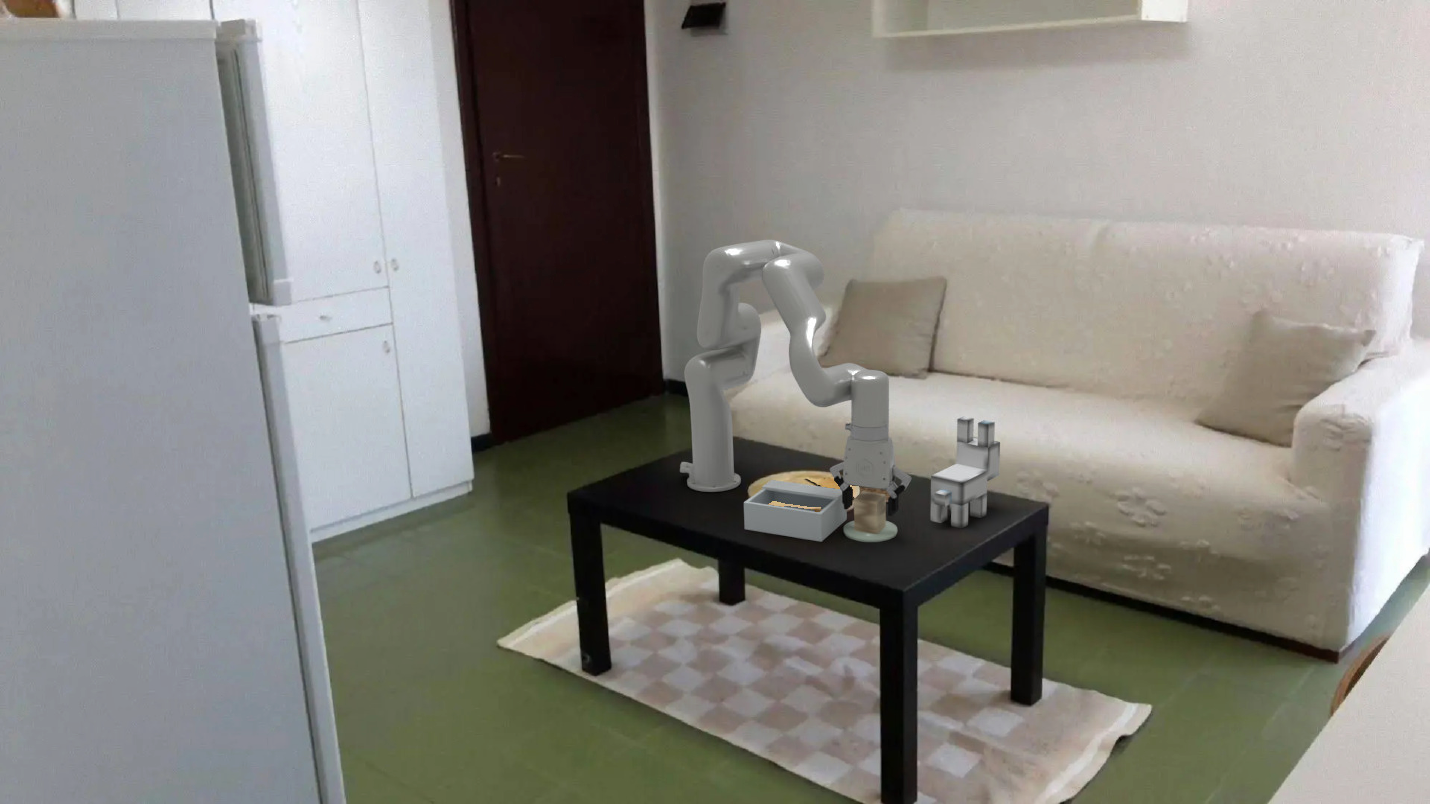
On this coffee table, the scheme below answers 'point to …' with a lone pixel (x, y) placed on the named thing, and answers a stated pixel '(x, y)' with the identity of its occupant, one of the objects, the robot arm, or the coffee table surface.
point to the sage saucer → (883, 535)
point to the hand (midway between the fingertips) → (870, 510)
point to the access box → (795, 510)
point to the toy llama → (966, 474)
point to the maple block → (869, 512)
